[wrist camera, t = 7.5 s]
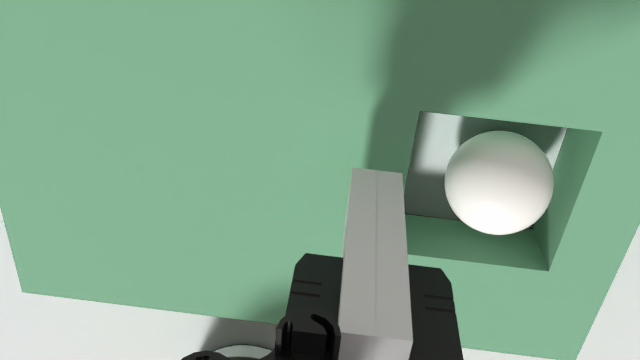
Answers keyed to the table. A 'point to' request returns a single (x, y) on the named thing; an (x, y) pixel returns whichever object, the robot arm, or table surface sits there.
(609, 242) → the green
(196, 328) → the table surface
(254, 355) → the pill bottle
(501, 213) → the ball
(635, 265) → the table surface
